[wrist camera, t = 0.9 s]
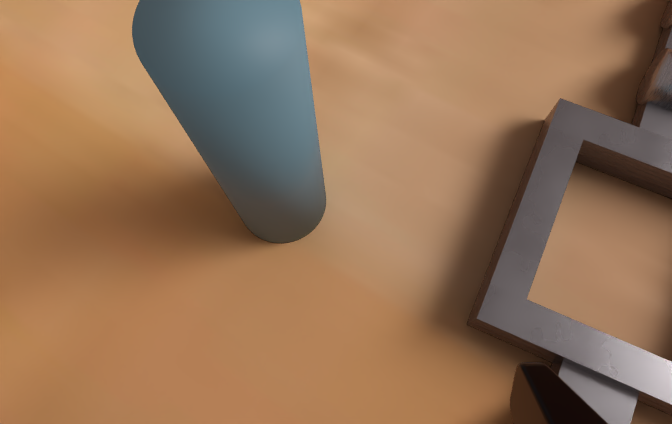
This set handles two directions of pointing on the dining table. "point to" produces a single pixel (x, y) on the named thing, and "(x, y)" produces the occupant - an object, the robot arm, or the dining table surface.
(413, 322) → the dining table surface
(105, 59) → the dining table surface
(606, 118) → the grey square frame handle
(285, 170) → the pin
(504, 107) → the dining table surface
